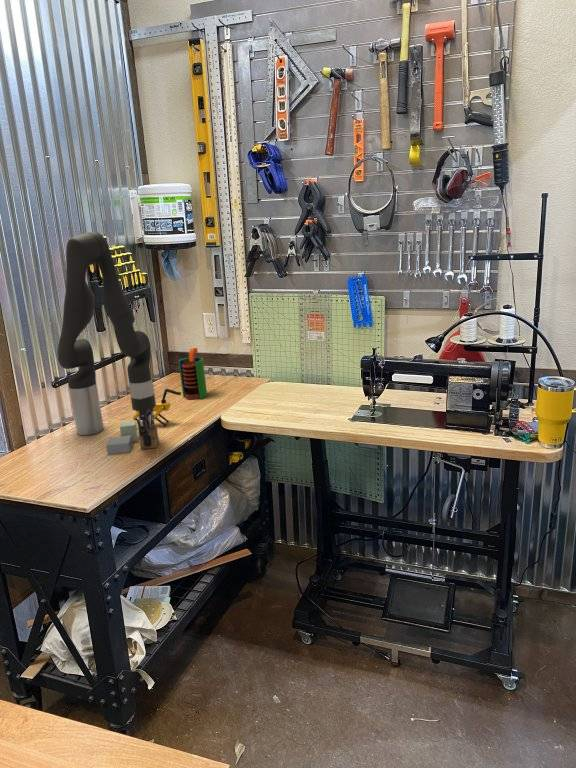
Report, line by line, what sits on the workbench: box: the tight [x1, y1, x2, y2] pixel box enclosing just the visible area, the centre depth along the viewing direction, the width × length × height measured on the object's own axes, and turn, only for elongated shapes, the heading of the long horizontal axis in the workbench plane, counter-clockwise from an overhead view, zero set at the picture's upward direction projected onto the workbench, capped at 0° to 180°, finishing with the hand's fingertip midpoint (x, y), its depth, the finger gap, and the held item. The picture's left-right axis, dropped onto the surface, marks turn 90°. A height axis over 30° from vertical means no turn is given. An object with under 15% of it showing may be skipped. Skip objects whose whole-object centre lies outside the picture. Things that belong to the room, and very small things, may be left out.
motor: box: [177, 347, 208, 401], centre depth 241 cm, size 10×9×20 cm
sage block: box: [119, 419, 139, 443], centre depth 201 cm, size 5×5×6 cm
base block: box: [105, 435, 134, 455], centre depth 193 cm, size 7×7×4 cm
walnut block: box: [137, 424, 160, 450], centre depth 194 cm, size 5×5×6 cm
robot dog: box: [132, 388, 182, 427], centre depth 212 cm, size 6×18×13 cm, turn 89°
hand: (149, 442), depth 195 cm, fingers closed on walnut block, 5 cm apart
